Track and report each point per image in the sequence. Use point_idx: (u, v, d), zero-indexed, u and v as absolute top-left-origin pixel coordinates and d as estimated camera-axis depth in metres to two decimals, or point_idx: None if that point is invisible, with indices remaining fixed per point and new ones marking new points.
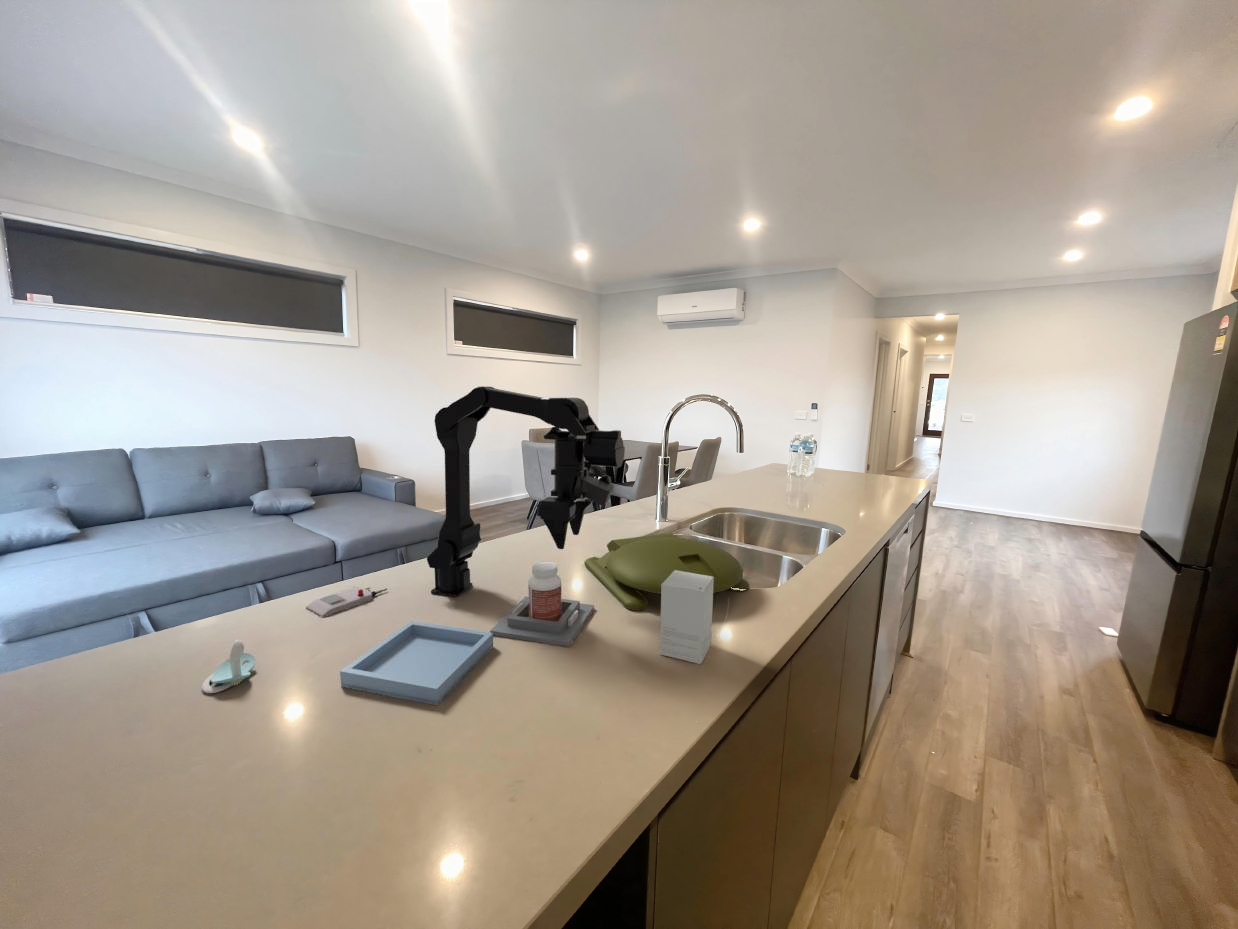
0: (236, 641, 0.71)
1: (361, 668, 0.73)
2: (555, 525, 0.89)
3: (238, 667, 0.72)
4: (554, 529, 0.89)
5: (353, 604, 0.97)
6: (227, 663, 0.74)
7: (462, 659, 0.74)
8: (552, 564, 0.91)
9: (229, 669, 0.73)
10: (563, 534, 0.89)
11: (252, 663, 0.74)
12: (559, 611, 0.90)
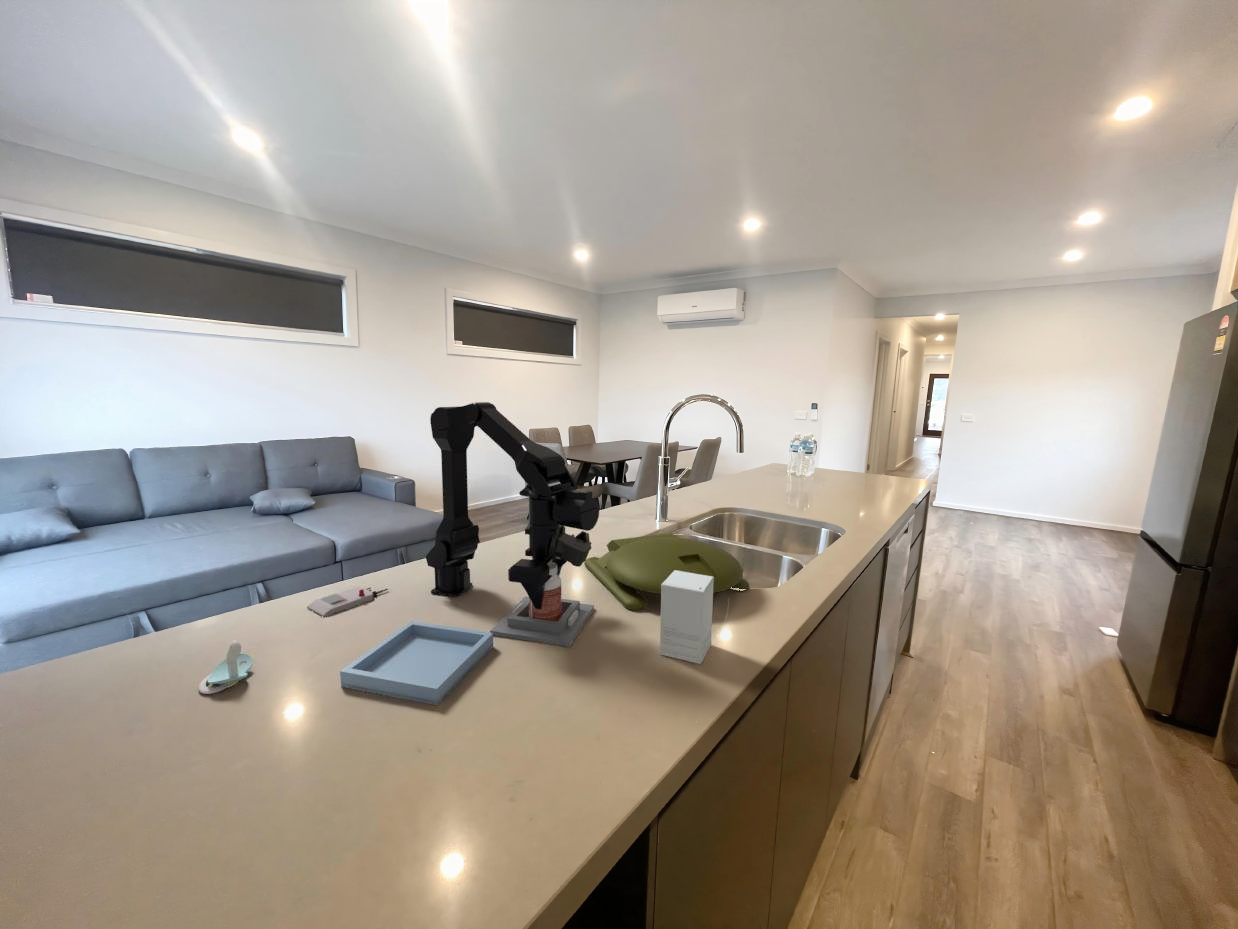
0: (233, 642, 0.71)
1: (361, 668, 0.73)
2: (532, 585, 0.86)
3: (235, 668, 0.72)
4: (530, 590, 0.87)
5: (354, 604, 0.97)
6: (224, 664, 0.73)
7: (462, 659, 0.74)
8: (552, 564, 0.91)
9: (226, 670, 0.73)
10: (540, 595, 0.86)
11: (249, 664, 0.74)
12: (559, 611, 0.90)
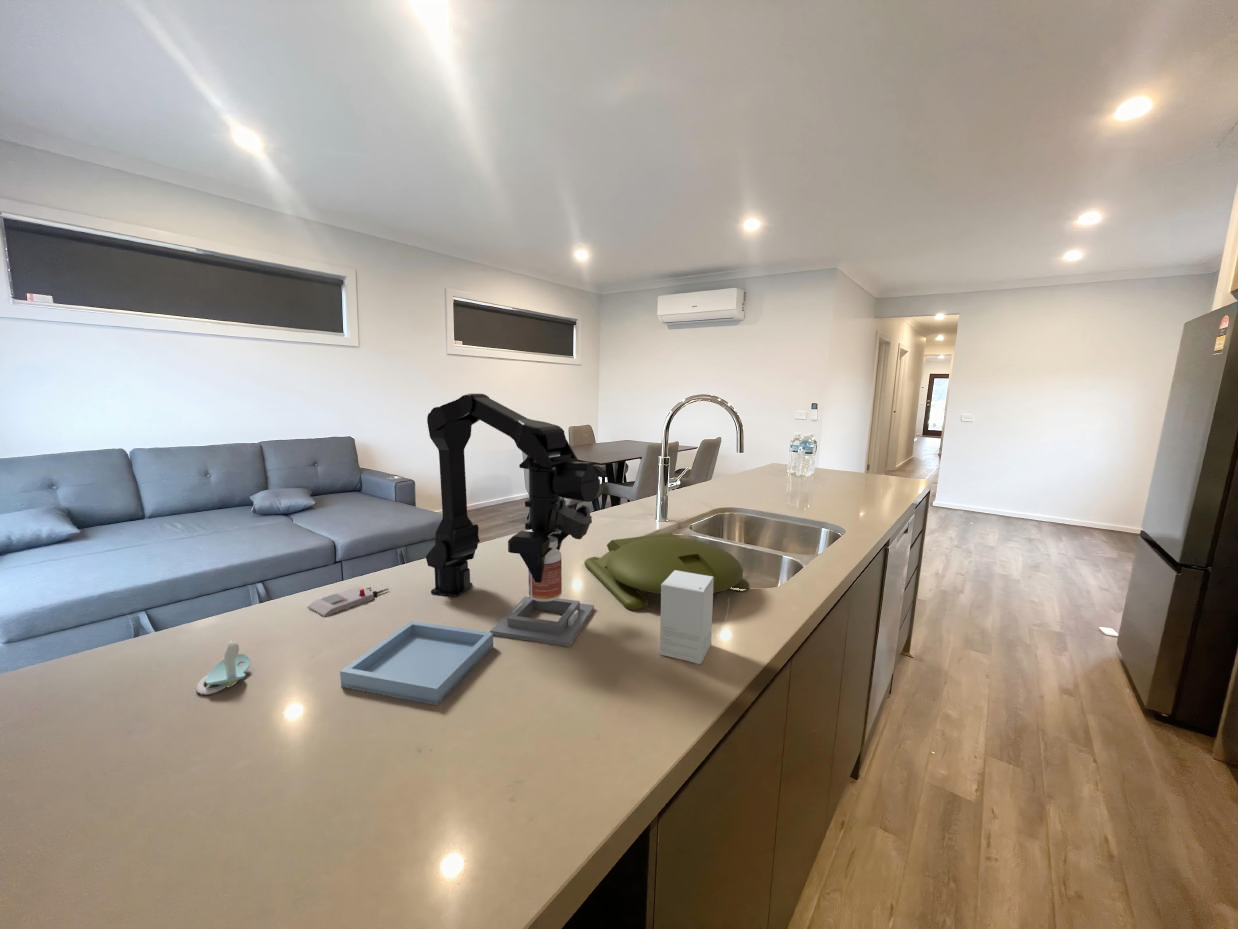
0: (231, 642, 0.71)
1: (361, 668, 0.73)
2: (532, 558, 0.86)
3: (233, 668, 0.71)
4: (530, 562, 0.86)
5: (354, 604, 0.97)
6: (222, 665, 0.73)
7: (462, 659, 0.74)
8: (552, 538, 0.90)
9: (224, 670, 0.73)
10: (540, 567, 0.86)
11: (247, 664, 0.74)
12: (559, 585, 0.90)
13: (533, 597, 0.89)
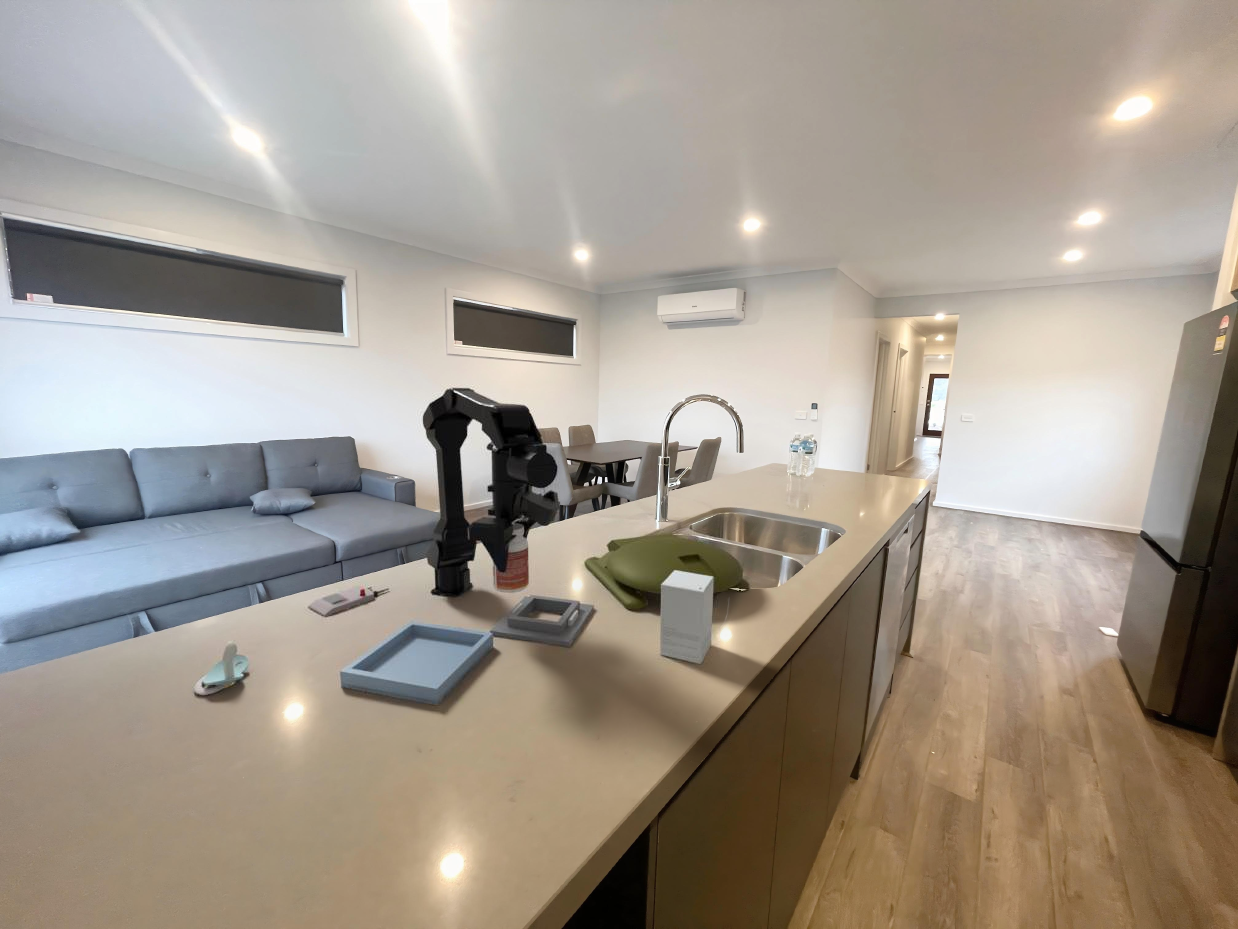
0: (229, 642, 0.71)
1: (361, 668, 0.73)
2: (495, 546, 0.80)
3: (231, 669, 0.71)
4: (493, 551, 0.80)
5: (355, 604, 0.97)
6: (220, 665, 0.73)
7: (462, 659, 0.74)
8: (518, 525, 0.85)
9: (222, 671, 0.72)
10: (503, 556, 0.80)
11: (245, 664, 0.74)
12: (526, 575, 0.84)
13: (497, 588, 0.83)
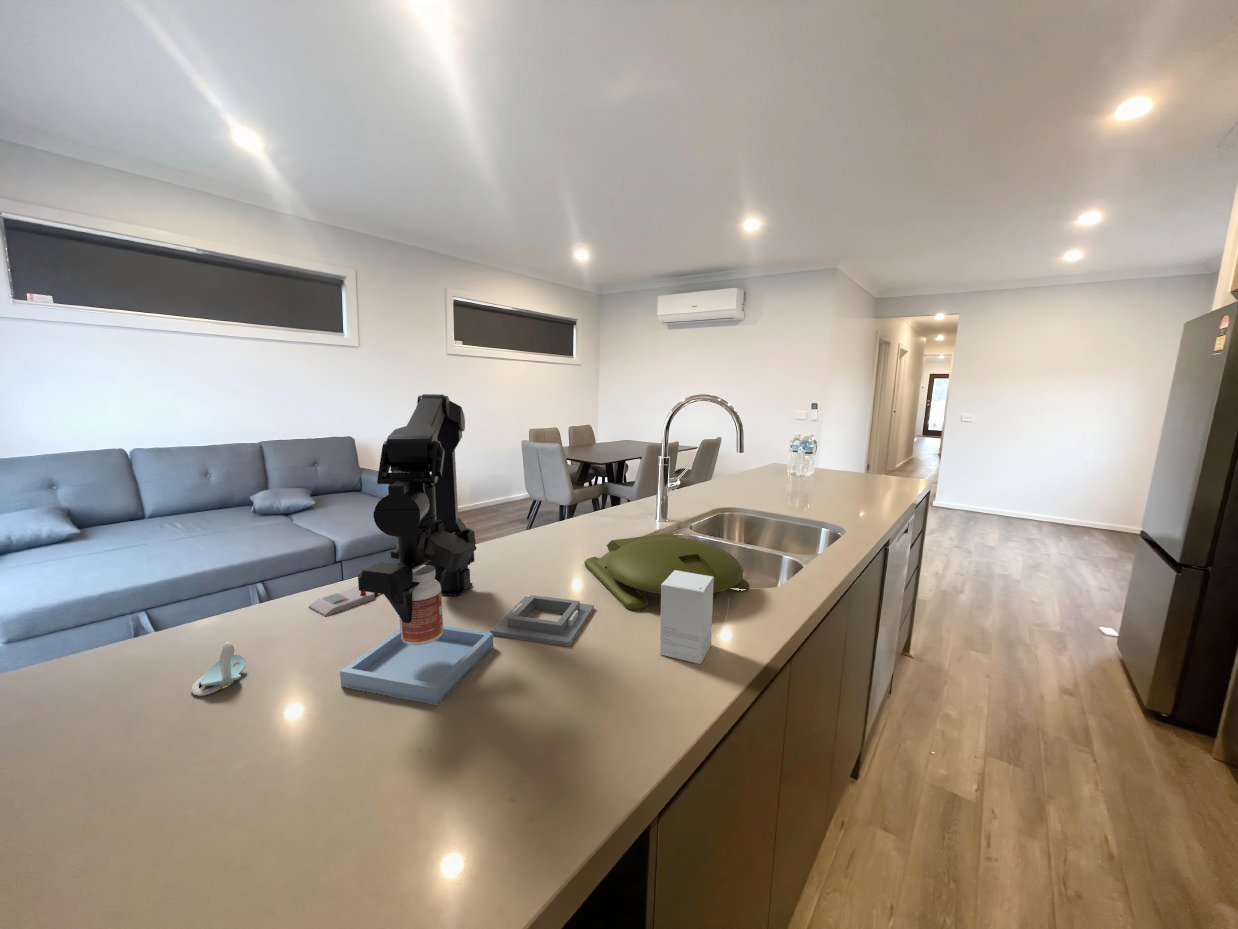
0: (226, 643, 0.71)
1: (361, 668, 0.73)
2: (396, 595, 0.71)
3: (228, 669, 0.71)
4: (394, 600, 0.71)
5: (356, 603, 0.97)
6: (217, 666, 0.73)
7: (462, 659, 0.74)
8: (429, 568, 0.75)
9: (219, 671, 0.72)
10: (406, 606, 0.71)
11: (242, 665, 0.74)
12: (437, 625, 0.75)
13: (404, 640, 0.74)
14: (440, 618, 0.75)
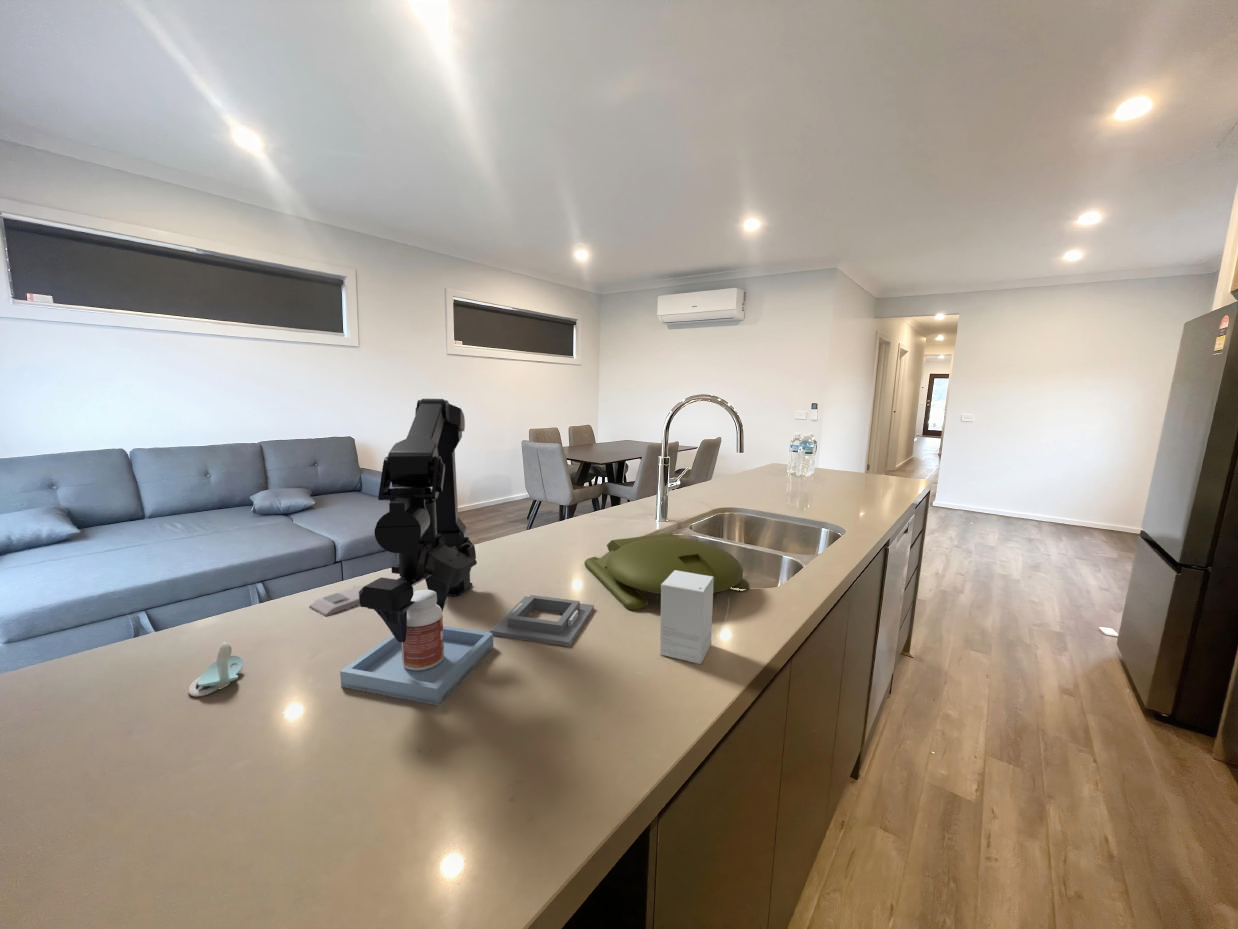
0: (223, 643, 0.71)
1: (361, 668, 0.73)
2: (390, 614, 0.70)
3: (225, 670, 0.71)
4: (389, 619, 0.70)
5: (356, 603, 0.97)
6: (214, 666, 0.73)
7: (462, 659, 0.74)
8: (431, 593, 0.76)
9: (216, 672, 0.72)
10: (400, 625, 0.70)
11: (240, 666, 0.74)
12: (438, 650, 0.75)
13: (405, 665, 0.74)
14: (441, 643, 0.76)
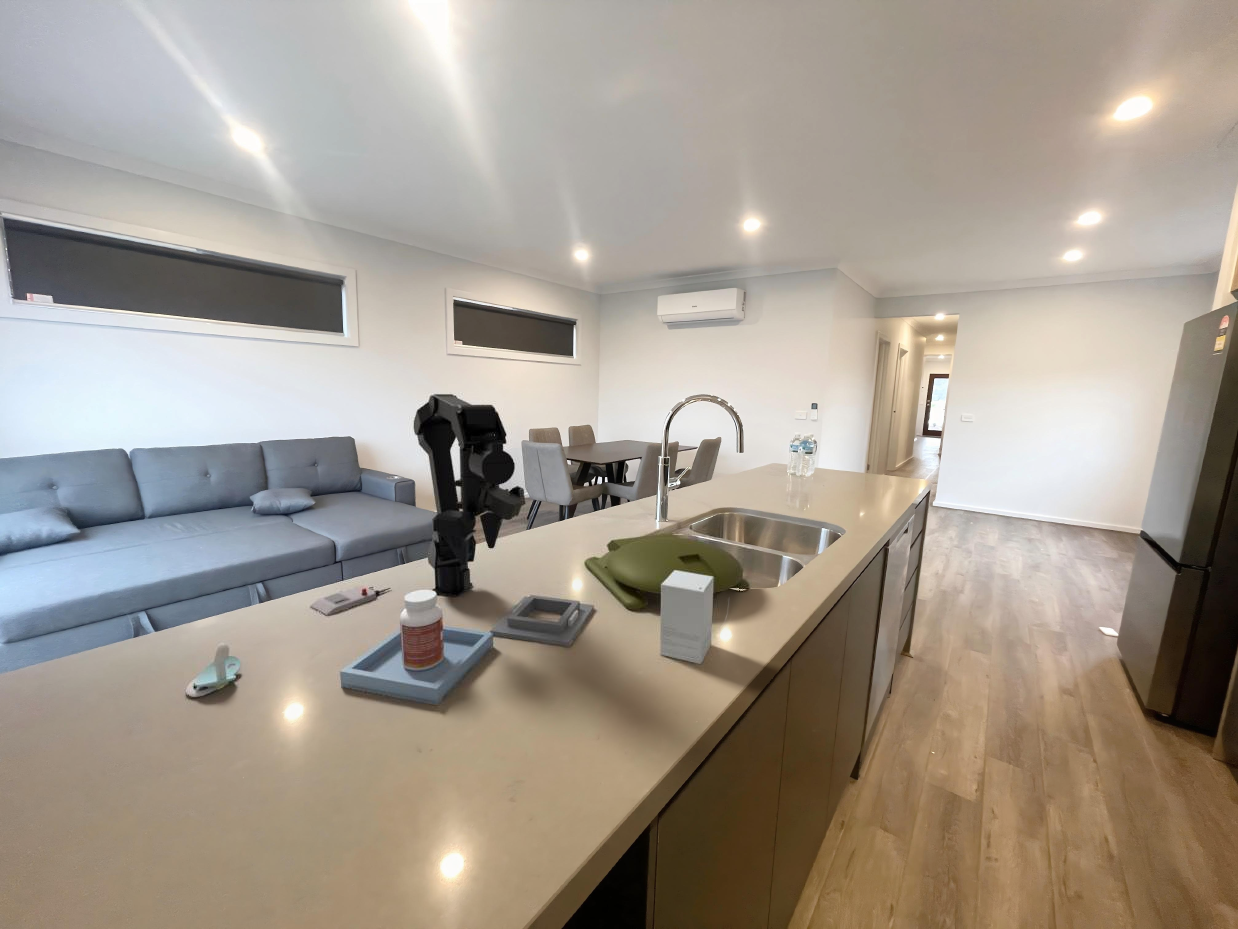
0: (221, 644, 0.71)
1: (361, 668, 0.73)
2: (456, 540, 0.84)
3: (223, 670, 0.71)
4: (454, 544, 0.84)
5: (357, 603, 0.97)
6: (212, 667, 0.73)
7: (462, 659, 0.74)
8: (430, 593, 0.76)
9: (214, 672, 0.72)
10: (464, 550, 0.84)
11: (237, 666, 0.73)
12: (438, 650, 0.75)
13: (405, 665, 0.74)
14: (441, 643, 0.76)
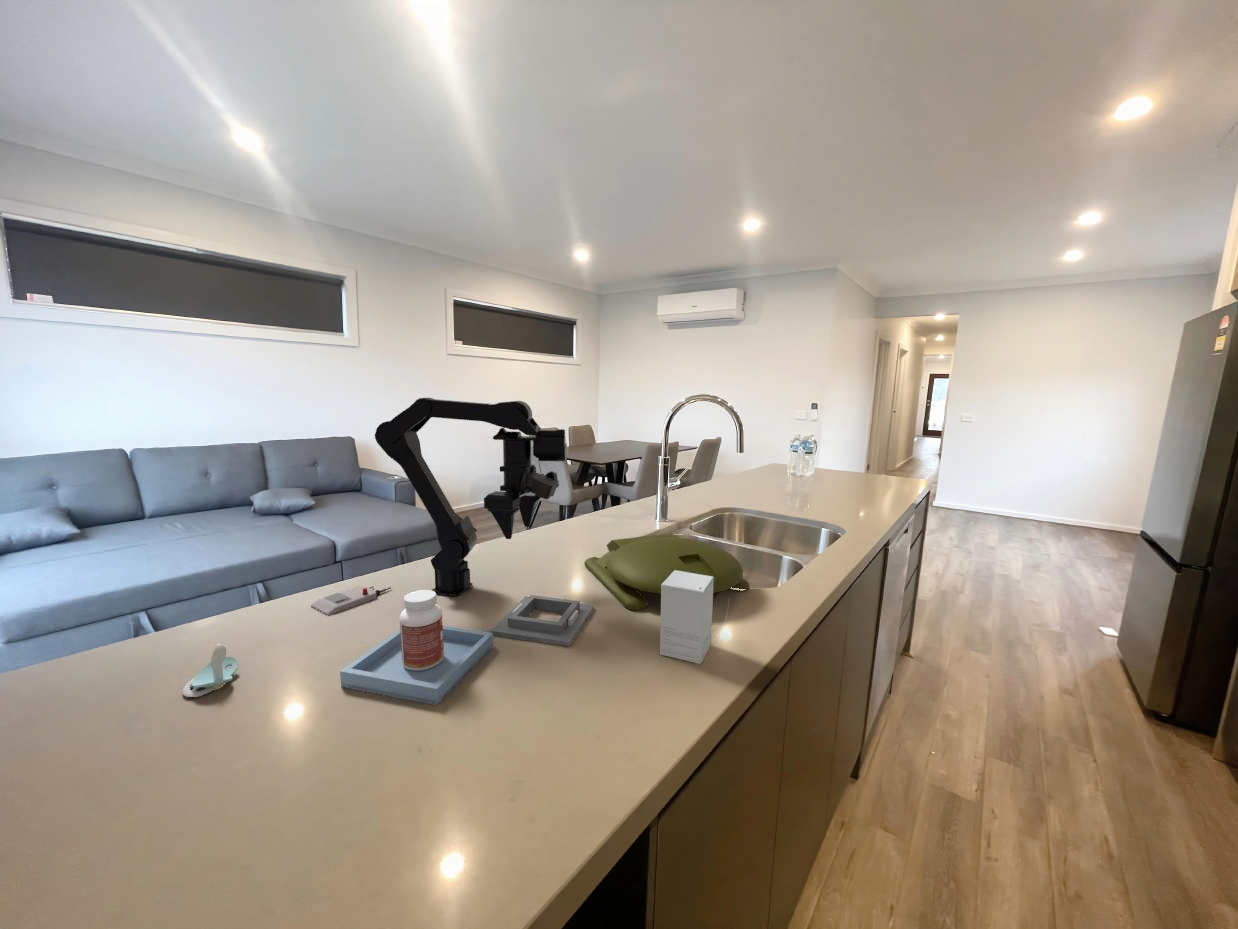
0: (218, 645, 0.70)
1: (361, 668, 0.73)
2: (502, 517, 0.98)
3: (220, 671, 0.71)
4: (501, 521, 0.98)
5: (358, 602, 0.97)
6: (209, 667, 0.72)
7: (462, 659, 0.74)
8: (430, 593, 0.76)
9: (211, 673, 0.72)
10: (509, 525, 0.98)
11: (234, 667, 0.73)
12: (438, 650, 0.75)
13: (405, 665, 0.74)
14: (441, 643, 0.76)
